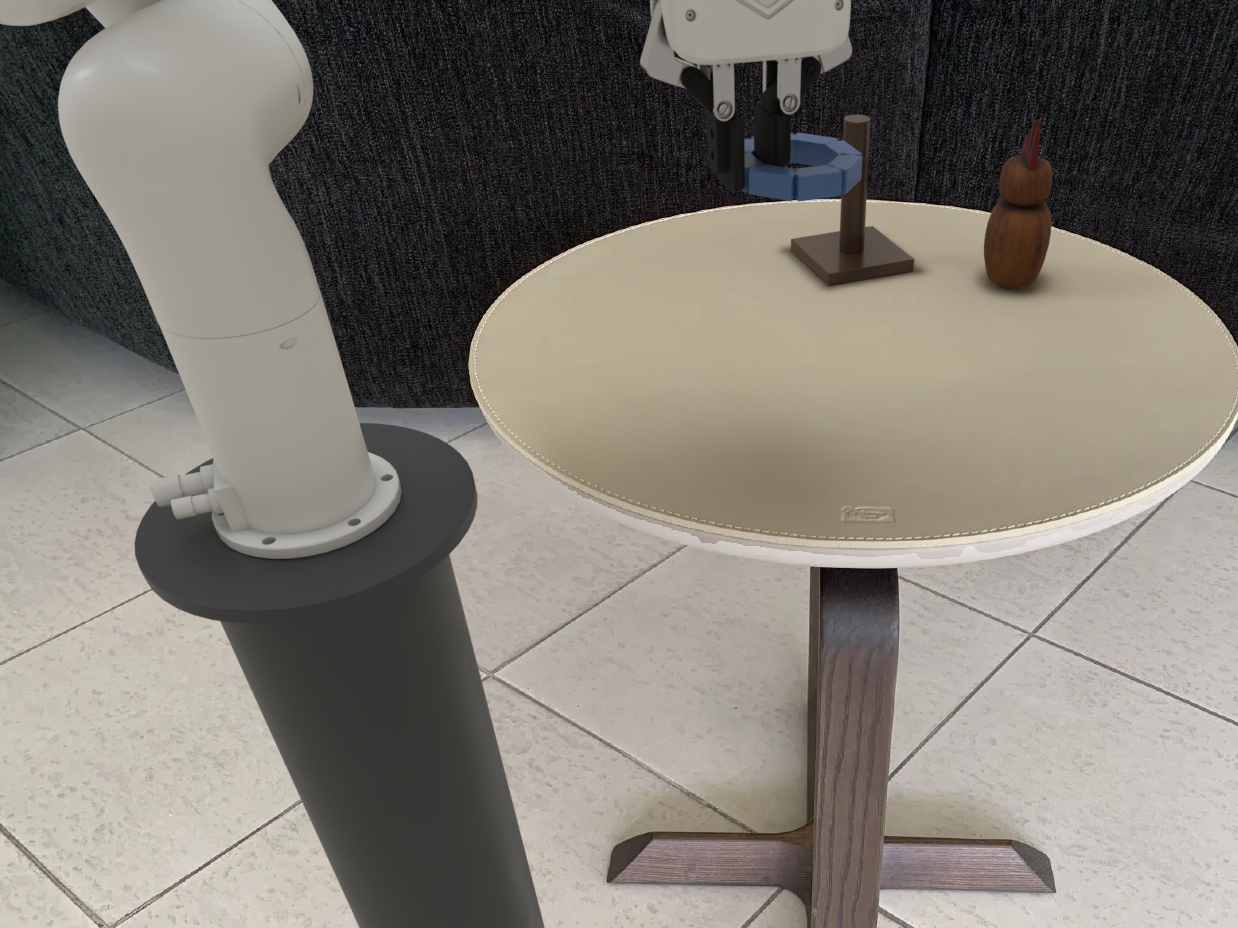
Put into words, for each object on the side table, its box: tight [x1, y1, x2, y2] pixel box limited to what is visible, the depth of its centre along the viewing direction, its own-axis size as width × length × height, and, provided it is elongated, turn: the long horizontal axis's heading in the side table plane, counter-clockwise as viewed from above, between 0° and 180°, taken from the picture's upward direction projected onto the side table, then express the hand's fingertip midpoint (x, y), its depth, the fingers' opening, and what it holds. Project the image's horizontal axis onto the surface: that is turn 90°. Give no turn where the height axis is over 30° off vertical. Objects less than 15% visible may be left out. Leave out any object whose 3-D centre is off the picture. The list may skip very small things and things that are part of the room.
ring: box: [741, 132, 862, 202], centre depth 64 cm, size 8×8×1 cm
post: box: [790, 114, 915, 287], centre depth 100 cm, size 9×9×13 cm
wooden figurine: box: [983, 119, 1053, 289], centre depth 96 cm, size 7×6×15 cm
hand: (749, 180), depth 63 cm, fingers closed on ring, 1 cm apart
